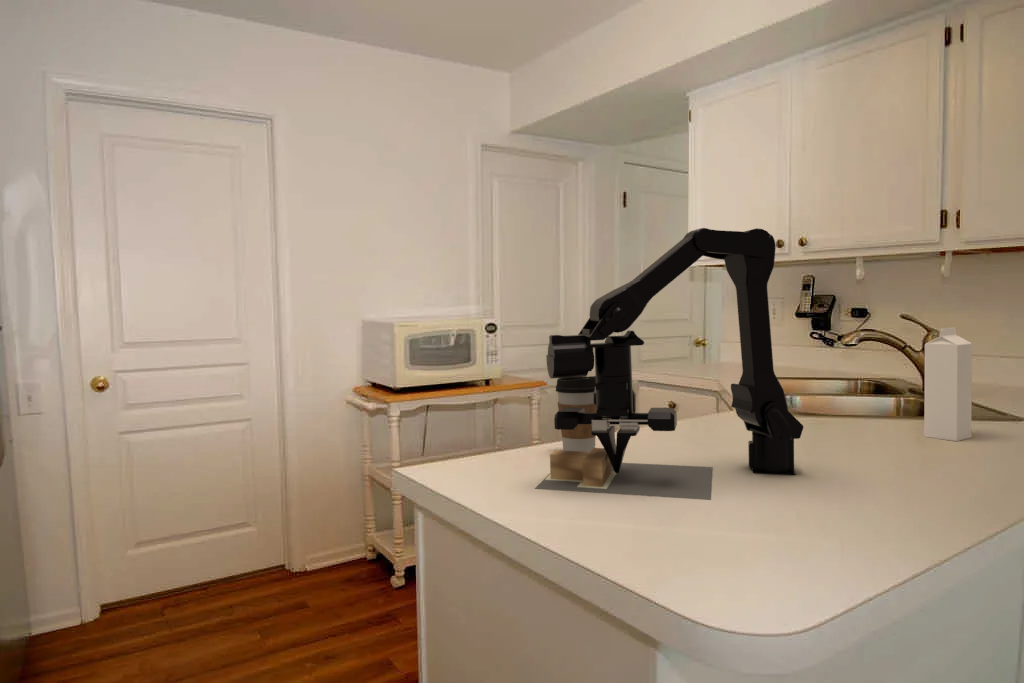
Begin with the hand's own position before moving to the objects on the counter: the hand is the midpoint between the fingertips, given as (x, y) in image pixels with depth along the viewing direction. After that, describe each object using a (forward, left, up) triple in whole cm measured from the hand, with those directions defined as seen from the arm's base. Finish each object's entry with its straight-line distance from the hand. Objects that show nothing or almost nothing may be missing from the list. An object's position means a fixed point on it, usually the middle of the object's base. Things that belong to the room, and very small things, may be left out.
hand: (617, 472), depth 102 cm
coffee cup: (+10, -18, -2) cm, 21 cm away
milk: (-59, -47, -2) cm, 75 cm away
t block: (+6, 0, -1) cm, 6 cm away
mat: (-1, -2, -2) cm, 3 cm away
